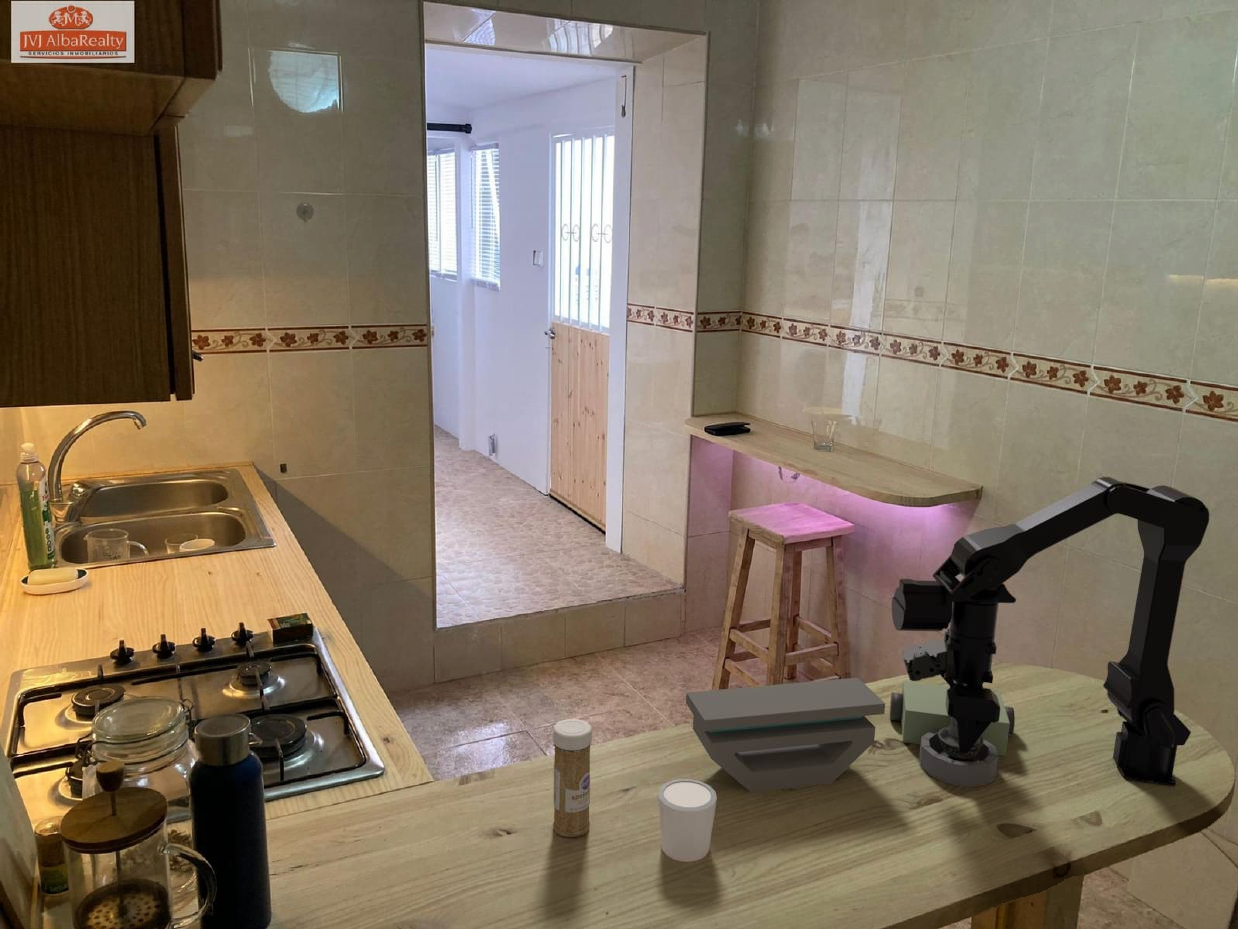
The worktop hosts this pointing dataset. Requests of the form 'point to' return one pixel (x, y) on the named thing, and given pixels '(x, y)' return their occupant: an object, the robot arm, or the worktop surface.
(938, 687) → the block with end pegs
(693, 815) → the white cup
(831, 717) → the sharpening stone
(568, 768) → the sprinkles bottle
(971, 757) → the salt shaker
